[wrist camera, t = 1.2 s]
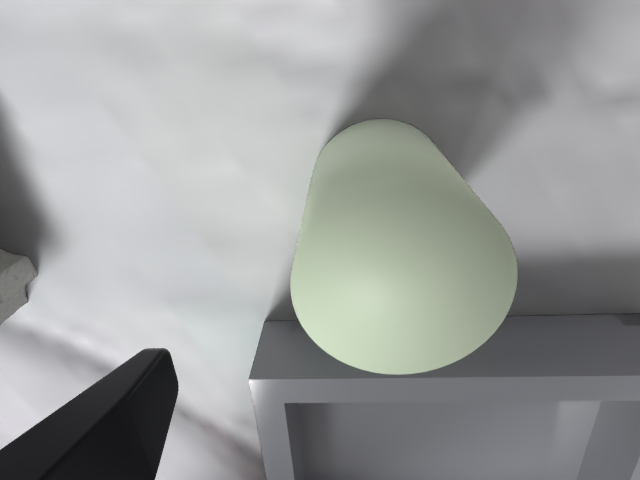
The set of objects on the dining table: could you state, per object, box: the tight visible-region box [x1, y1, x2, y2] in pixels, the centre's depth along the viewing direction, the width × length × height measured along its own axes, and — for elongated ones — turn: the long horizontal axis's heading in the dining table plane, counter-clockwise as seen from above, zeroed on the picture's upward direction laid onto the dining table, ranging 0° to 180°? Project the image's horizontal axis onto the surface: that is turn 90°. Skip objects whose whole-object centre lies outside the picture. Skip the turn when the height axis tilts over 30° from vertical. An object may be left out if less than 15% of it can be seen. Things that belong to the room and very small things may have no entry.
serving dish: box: [249, 314, 640, 480], centre depth 20 cm, size 16×14×4 cm
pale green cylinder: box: [290, 119, 518, 375], centre depth 13 cm, size 5×5×7 cm
